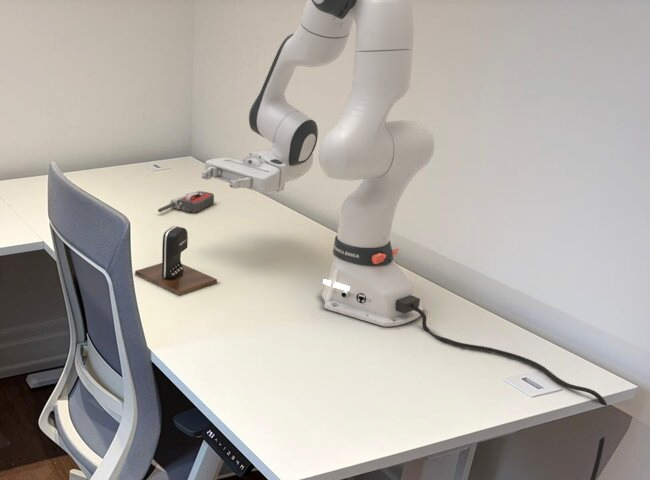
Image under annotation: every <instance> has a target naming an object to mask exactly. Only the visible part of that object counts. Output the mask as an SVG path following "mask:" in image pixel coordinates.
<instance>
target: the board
mask: <svg viewBox="0 0 650 480" xmlns="http://www.w3.org/2000/svg"><path fill="white" fill-rule="evenodd" d="M181 264H182V267H183V269H184V271H183V272H182V273H181V274H180V275H179V276H177V277H176V278H174V279H168V278H164V277H162V262H160V263H157V264H153V265H150V266H146V267H144V268H140V269H138V270H135V271H134V275H135V276H137V277H139V278H142V279H143V280H145V281H147V282H150V283H152V284H154V285H156V286H158V287H160V288H162V289H164V290H167V291H169V292H171V293H172V294H175V295H177V296H182V295H185V294H187V293H191V292H194V291H197V290H199V289H203V288H206V287H209V286H211V285H215V284H217V283H218V278H215V277H213V276H211V275H209V274H206V273H205V272H202V271H199V270H197V269H196V268H192V267H190V266H188V265H185V264H183V263H181Z"/></svg>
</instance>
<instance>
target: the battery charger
mask: <svg viewBox="0 0 650 480" xmlns="http://www.w3.org/2000/svg"><path fill="white" fill-rule="evenodd" d="M188 235H189V234H188V230H187V229H186V228H185V227H181V226H178V225H173V226H171V227H169V228H168V229H167V230H165V231H164V233H163V235H162V247H161V248H162V249H161V252H162V253H161V254H162V255H161V263H162V277H164V278H168V279H174V278H176V277H177V276H179V275H180V274H181V273H182V272H183V271H184V269H183V267H182V264H183V263H182V261H181V256H182V255H181V254H182V252H184V251H185V250H187V249H188V245H189V244H188V243H189V242H188V241H189V237H188Z"/></svg>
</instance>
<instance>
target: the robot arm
mask: <svg viewBox="0 0 650 480" xmlns="http://www.w3.org/2000/svg"><path fill="white" fill-rule="evenodd" d="M412 3H413V2H412V0H306V1H305V4H304V5H305V6H304V9H303V11H302V15H301V17H300V21H299V25H298V27H297V29H296V30H295V32H294V33H291V34H289V35H287V36H286V37H285V38H284V40H283V41H282V42H281V44H280V46H279V48H278V49H277V51H276V54H275V56H274V59H273V61H272V63H271V66H270V68H269V70H268V72H267V75H266V76H265V79H264V82H263V84H262V86H261V90H260V92H259V94H258V95H257V97H256V98H255V100H254V102H253V103H252V104H251V107H250V110H249V113H248V122H249V127H250V129H251V131H252V132H254V133H256V134H257V135H259V136H261V137H263V138H264V139H266V140H267V141H268V142H270V143H271V145H272V146H271V147H270V148H267V149H262V150H257V151H253V152H252V151H251V152H249V153H247V154H246V155H245V156H244V158H243V160H239V159H236V158H232V157H218V158H217V157H216V158H211V159H207V160H206V161H205V163H204V170H203V171H202V172H201V179H202V180H207V181H208V180H211V179H212V178H213V179H216V180H218V181H219V180H220V181H222V182H226V183H229V188H231V189H236V190H237V189H248V190H251V191H254V192H258V193H262V194H268V193H273V192H278V193H279V192H283V191H284V190H285V185H286V183H289V182H292V181H294V180H297V179H299V178H301V177H303V176H304V175H306V174H307V173H308V172H310V170H311V168H312V166H313V163H314V151H315V149H316V146H317V143H318V138H319V137H318V136H319V128H318V125H317V122H316V121H315V120H314V119H312V118H311V117H309V116H308V115H307V114H306V113H304V112H303V111H301V110H299V109H298V108H297V107H295V106H293V105H292V104H290V103H289V102H288V101H287V99H286V96H285V92H286V90H287V88H288V85H289V83H290V81H291V78H292V76H293V74H294V72H295V70H296V69H297V67H304V68H305V67H306V68H320V67H324V66H327V65H330V64H332V63H334V62H335V61H337V59H339V57H341V55H342V54H343V52H344V50H345V48H346V46H347V43H348V40H349V37H350V34H351V30H352V27H353V23H354V22H355V26H356V36H355V46H354V57H353V58H354V60H353V61H354V62H353V70H352V71H353V73H352V81H351V82H352V83H351V90H350V94H349V97H348V101H347V104H346V106H345V108H344V111H343V113H341V114H342V115H341V116H340V118H339V120H338V121H337V123H336V124H335V125H334V126H333V127H332V129H331V130H329V131H328V132H327V133H326V134H325V135H324V136H323V138H322V139H321V142H320V144H319V148H318V162H319V165H320V168H321V170H322V172H323V173H324V174H325V175H326V177H328V178H330V179H333V180H340V181H351V182H352V181H358V180H359V181H360V180H362V181H361V183H360V184H359V186H358V187H357V188H356V189H355V190H354V191H353V192H351V193H350V194H349V195H347V197H346V198H345V199H344V201H343V202H342V204H341V207H340V214H339V222H338V227H337V228H338V229H337V235H336V236H335V237H334V242H333V248H332V254H333V258H332V263H331V268H330V272H329V275H328V278H327V279H325V278H323V281H322V284H324V285H325V286H324V289H323V290H322V293H321V299H322V300H323V302H324V305H323V308H324V309H325V310H328V311H332V312H334V313H339V314H341V315H345V316H348V317H351V318H354V319H358V320H361V321H364V322H367V323H371V324H374V325H378V326H380V327H387V328H389V327H398V326H401V325H405V324H409V323H410V322H413V321H415V320H417V319H419V317H421V318H422V319H421V325H422V328H423V330H424V331H425V332H426V333H428V334H429V335H430V336H432V337H433V338H435V340H438V341H441V342H444V343H447V344H450V345H454V346H457V347H460V348H467V349H473V350H479V351H486V352H490V353H493V354H498V355H502V356H505V357H509V358H512V359H516V360H519V361H521V362H524V363H526V364H529V365H530V366H533V367H535V368H537V369H539V370H540V371H542V372H543V373H545V375H547V376H548V377H549V378H551V379H552V380H553V381H554V382H556V383H557V384H559V385H561V386H563V387H565V388H568V389H571V390H575V391H580V392H583V393H587V394H590V395H592V396H593V397H595V399H597V400H598V401H599V403H600V404H601V405H603V406H608V404H607V401H606V399H605V398H604V397H603V396H602V395H601V394H600V393H598V392H597V391H595V390H594V389H591V388H587V387H584V386H580V385H575V384H571V383H569V382H566V381H564V380H563V379H561V378H559V377H558V376H556V375H555V374H554V373H553V372H551V371H550V370H549V369H547V368H546V367H545V366H543V365H542V364H540V363H538V362H536V361H534V360H531V359H530V358H527V357H525V356H521V355H518V354H516V353H512V352H509V351H505V350H502V349H501V350H500V349H497V348H494V347H489V346H488V347H487V346H483V345H477V344H471V343H464V342H459V341H456V340H454V339H450V338H447V337H443V336H440V335H437V334H435V333H433V332H432V331H431V330H430V329H429V327H428V326H427V315H426V314H425V313H424V311H423V306H422V305H420V303H421V298H419V297H416V296H415V289H414V284H413V283H412V281H410V279H409V278H408V276H406V274H405V273H404V272H403V271H402V269H401V268H400V267H399V266H398V264H397V263H396V262H395V261H394V256H395V255H397V254H399V250H400V248H395V249H393V248H392V243H391V241H390V237H391V232H392V227H393V222H394V218H395V213H396V210H397V206H398V204H399V202H400V199H402V198H401V197H402V195H403V194H404V192H405V190H406V189H407V187H408V186H409V184H410V182H411V181H412V180H413V178H414V177H415V176H416V175H417V174H418V173H419V172H420V171H421V170H423V168H425V167H426V166H428V164H429V163H430V161H431V159H432V157H433V155H434V151H435V138H434V134H433V132H432V130H431V129H430V128H429V126H428V125H427V124H425V123H423V122H417V121H413V120H404V119H401V120H392V121H387V120H388V117H389V114H390V111H391V110H392V108H393V107H394V105H395V104H396V103H397V102H399V101H400V100H401V99H403V98H404V97H406V95H407V93H408V91H409V89H410V86H411V76H412V75H411V72H412V62H413V51H414V50H413V48H414V30H415V29H414V11H413V4H412ZM605 439H606V436H603V437H601V438H600V439H599V440H598V441H599V442H598V446H597V451H596V452H597V453H596V457H595V461H594V465H593V469H592V472H591V476H590V480H596V479H597V474H598V471H599V468H600V463H601V459H602V455H603V450H604V445H605Z"/></svg>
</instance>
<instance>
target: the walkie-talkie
mask: <svg viewBox="0 0 650 480" xmlns="http://www.w3.org/2000/svg"><path fill="white" fill-rule="evenodd" d="M214 202H215V194H214V193H212V192H209V191H204V190H197V191H191V192H189V193H187V194H185V196H179V197H176V198H174V199H171V200H170V203H169V204H167V205H164V206H162V207H160V208H158V209H157V212H158V213H162V212H165V211H167V210H168V209H171V208H175V209H177V210H178V211H182V212H186V213H191V214H196V213H197V212H200V211H202V210H204V209H207V208H208V207H211V206H212V205H214V204H215V203H214Z"/></svg>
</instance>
